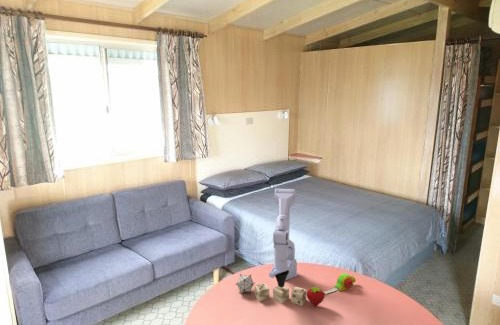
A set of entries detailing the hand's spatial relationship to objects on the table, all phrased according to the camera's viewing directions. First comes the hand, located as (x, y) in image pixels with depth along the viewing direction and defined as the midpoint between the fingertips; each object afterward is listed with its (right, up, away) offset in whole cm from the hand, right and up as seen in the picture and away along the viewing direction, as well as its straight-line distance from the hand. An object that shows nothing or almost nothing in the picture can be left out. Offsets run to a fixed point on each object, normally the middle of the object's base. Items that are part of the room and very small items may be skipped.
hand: (281, 286), depth 150 cm
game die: (-16, -5, +7) cm, 18 cm away
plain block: (0, -6, +1) cm, 6 cm away
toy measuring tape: (+27, -5, +8) cm, 29 cm away
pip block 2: (+8, -6, -1) cm, 10 cm away
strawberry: (+14, -7, -5) cm, 16 cm away
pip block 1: (-8, -6, +3) cm, 10 cm away
